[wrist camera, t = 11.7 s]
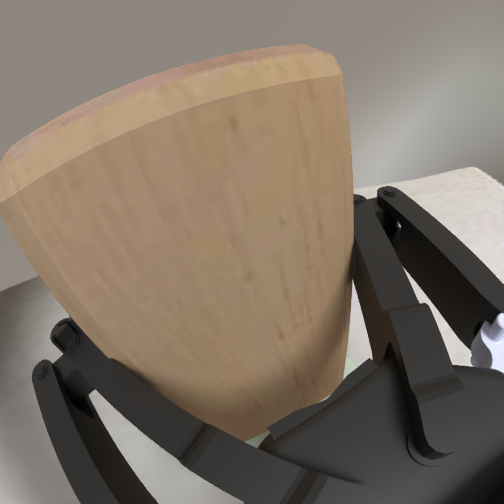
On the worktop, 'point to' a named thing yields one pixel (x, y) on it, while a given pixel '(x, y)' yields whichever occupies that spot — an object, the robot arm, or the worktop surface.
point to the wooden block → (202, 230)
